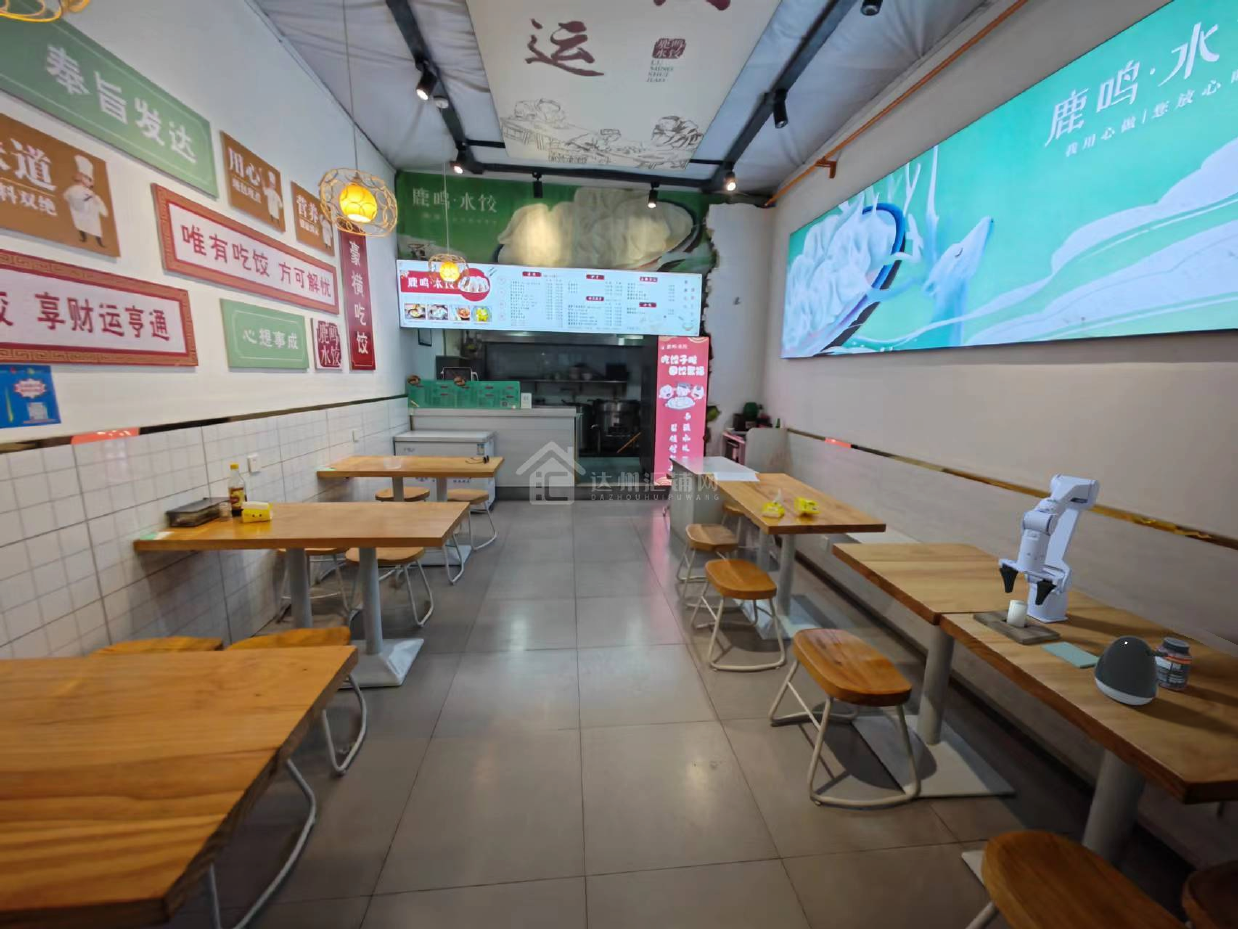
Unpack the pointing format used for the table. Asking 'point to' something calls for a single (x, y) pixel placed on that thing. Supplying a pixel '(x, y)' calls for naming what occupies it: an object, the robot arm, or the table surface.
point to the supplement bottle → (1174, 664)
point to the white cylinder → (1017, 614)
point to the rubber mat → (1071, 654)
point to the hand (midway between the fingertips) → (1023, 598)
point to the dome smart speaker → (1129, 671)
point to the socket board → (1023, 635)
